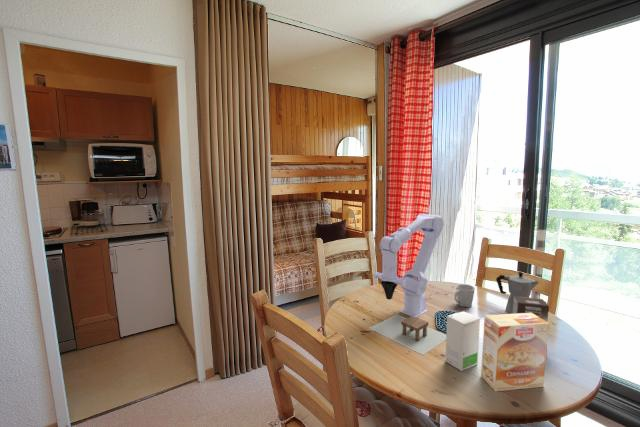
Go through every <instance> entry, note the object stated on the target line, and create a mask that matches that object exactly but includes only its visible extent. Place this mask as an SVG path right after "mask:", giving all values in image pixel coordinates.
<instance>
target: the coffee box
mask: <svg viewBox="0 0 640 427" xmlns="http://www.w3.org/2000/svg"><path fill="white" fill-rule="evenodd" d="M549 311H550V305H549V304H548V303H547V302H546V301H545V300H544V299H542V298H534V297H529V298H528V297H520V296H514V303H513V314H517V313H530V312H531V313H533V314H535V315H536V316H538V317H540V318H541V319H543V320H545V321H547V322H548V320H549V319H548V318H549Z"/></svg>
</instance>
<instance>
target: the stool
mask: <svg viewBox="0 0 640 427" xmlns="http://www.w3.org/2000/svg"><path fill="white" fill-rule="evenodd" d="M406 318H407V319H405V320H403V321H401V325H403V331H402V334H403V335H406V327H408V328H410V330H411V331H414V330H415V331H416V332H415V340H416V341H419V334H420V330H421V329H423V336H424V337H426V336H427V327H429V321H426V320H423V319H421V318H420V317H419V318H418V317H414V316H409V317H406Z"/></svg>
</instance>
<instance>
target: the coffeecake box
mask: <svg viewBox="0 0 640 427" xmlns="http://www.w3.org/2000/svg"><path fill="white" fill-rule="evenodd" d="M549 328H550V323H549V322H548V321H545V320H543V319H541V318H540V317H538V316H536V315H535V314H533V313H531V312H530V313H517V314H509V313H503V314H486V315H484V323H483V336H482V338H483V339H482V354H481V369H480V377H481V378H482V379H483V380H484V381H485V382H486V383H487V384H488V385H489V387H490V388H491V389H492V390H493V391H494V392H503V391H514V390H522V389H523V390H524V389H526V390H527V389H533V388H534V389H536V388H543V387H544V384H545V383H544V381H545V369H546V360H547V352H548V351H547V349H548V340H549V338H548V337H549Z"/></svg>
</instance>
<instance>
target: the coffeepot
mask: <svg viewBox="0 0 640 427" xmlns="http://www.w3.org/2000/svg"><path fill="white" fill-rule="evenodd" d="M517 274H518V275H505V274H504V275H503V274H500V275H498V276H497V277H496V283H497V286H498V288H499V289H498V290H499V292H500V294H503V295H505V294H507V291H504V287H503V284H502V281H501V280H505V281H507V285H508V292H509V293H510V294H509V297H508V299H507V303H506V307H505V311H506V312H507V314H513V303H514V296H520V297H528V298H530V297H529V296H531V293H532V290H533V289H534V288H535V287H536V286H537V285H538V284H540V282H539V280H538V281H537V280H535V279H532V278H530V277H527V276H523V274H524V272H523V271H519V272H518V273H517Z"/></svg>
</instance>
